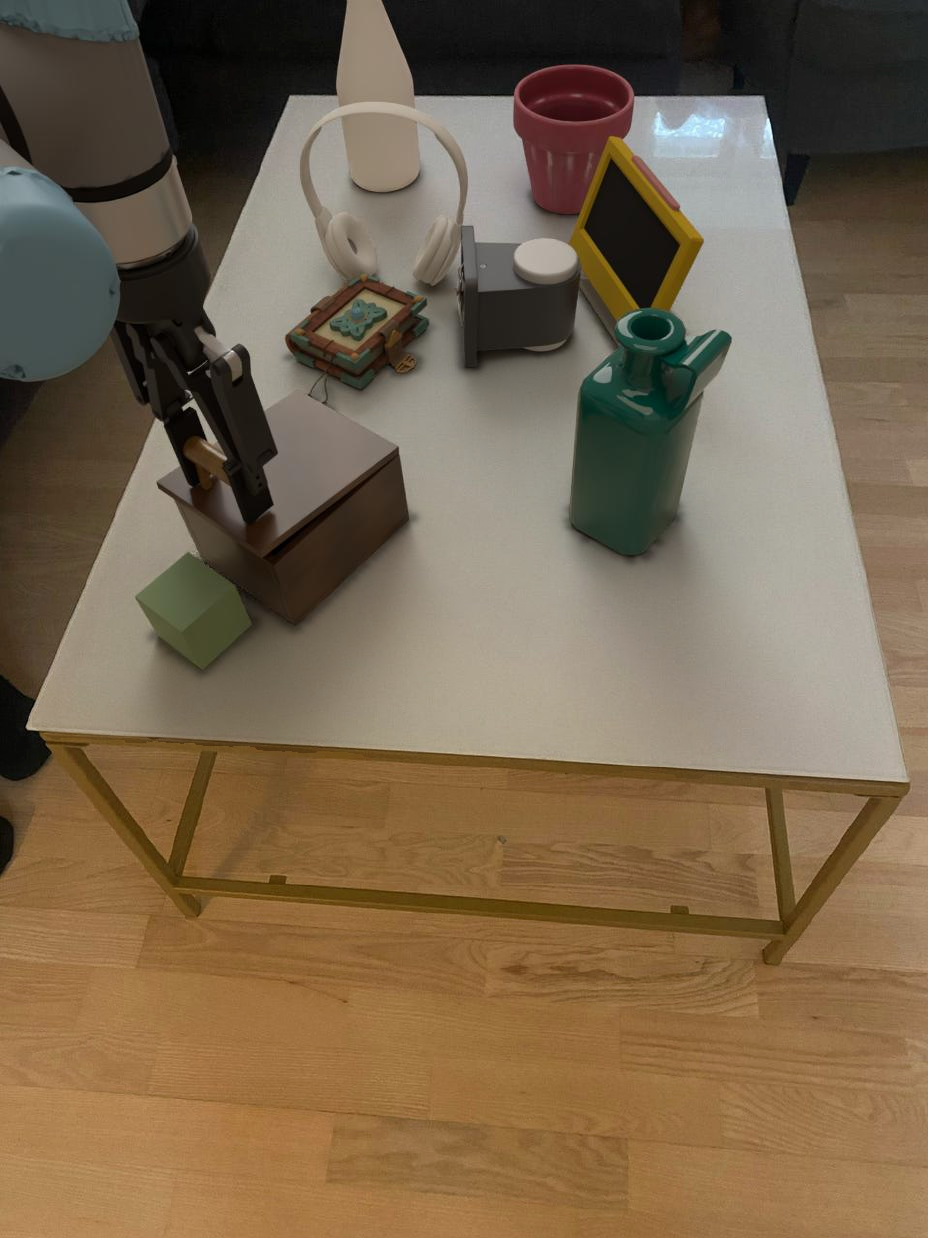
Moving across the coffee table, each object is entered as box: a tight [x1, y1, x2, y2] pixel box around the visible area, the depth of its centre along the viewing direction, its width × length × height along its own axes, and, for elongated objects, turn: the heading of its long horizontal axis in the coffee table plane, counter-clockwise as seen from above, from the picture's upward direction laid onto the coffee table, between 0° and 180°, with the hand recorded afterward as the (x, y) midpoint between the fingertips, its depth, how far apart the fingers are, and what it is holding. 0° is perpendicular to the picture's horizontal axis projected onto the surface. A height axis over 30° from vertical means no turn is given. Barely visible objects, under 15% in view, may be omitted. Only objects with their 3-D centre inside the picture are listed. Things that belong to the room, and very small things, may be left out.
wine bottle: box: [335, 0, 421, 193], centre depth 109 cm, size 10×10×30 cm
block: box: [134, 551, 253, 671], centre depth 78 cm, size 6×6×6 cm
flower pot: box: [512, 64, 635, 215], centre depth 111 cm, size 14×14×13 cm
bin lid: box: [155, 389, 400, 558], centre depth 75 cm, size 16×13×6 cm
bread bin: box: [173, 453, 410, 626], centre depth 82 cm, size 16×13×9 cm
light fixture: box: [454, 225, 582, 367], centre depth 97 cm, size 11×13×11 cm
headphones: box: [299, 102, 469, 287], centre depth 100 cm, size 7×18×20 cm, turn 82°
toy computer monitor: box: [567, 136, 705, 348], centre depth 96 cm, size 20×8×16 cm, turn 18°
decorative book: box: [284, 273, 430, 405], centre depth 98 cm, size 13×18×5 cm
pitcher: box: [568, 307, 733, 556], centre depth 76 cm, size 10×8×22 cm
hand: (230, 493), depth 74 cm, fingers closed on bin lid, 6 cm apart
